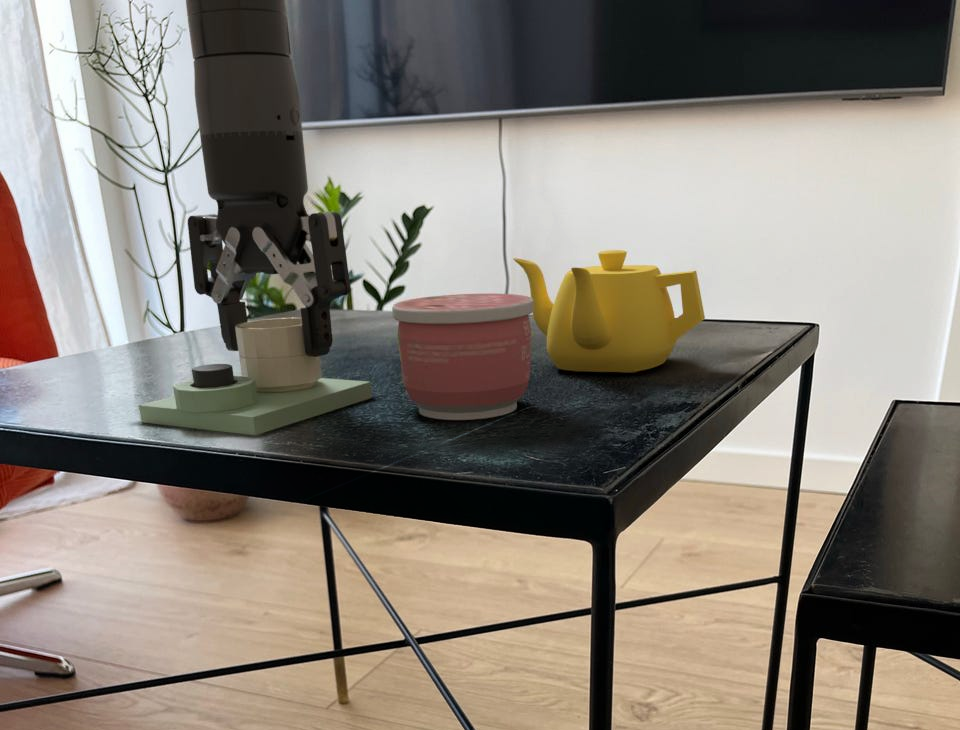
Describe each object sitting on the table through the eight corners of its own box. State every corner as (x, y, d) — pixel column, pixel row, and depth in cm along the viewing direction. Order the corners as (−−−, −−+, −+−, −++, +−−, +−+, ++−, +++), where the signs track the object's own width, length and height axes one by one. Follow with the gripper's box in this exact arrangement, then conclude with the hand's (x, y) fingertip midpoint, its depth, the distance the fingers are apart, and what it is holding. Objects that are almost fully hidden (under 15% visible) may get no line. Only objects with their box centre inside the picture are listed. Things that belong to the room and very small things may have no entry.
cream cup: (286, 396, 79) (278, 330, 77) (227, 390, 82) (217, 327, 80) (338, 381, 84) (332, 318, 82) (280, 376, 87) (272, 316, 85)
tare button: (215, 393, 75) (211, 371, 74) (186, 390, 77) (182, 369, 76) (243, 385, 77) (240, 364, 77) (215, 383, 79) (212, 362, 78)
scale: (251, 437, 73) (245, 395, 72) (137, 424, 79) (129, 385, 78) (372, 398, 84) (369, 361, 83) (264, 389, 90) (259, 354, 89)
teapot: (514, 363, 97) (511, 252, 93) (640, 349, 101) (642, 242, 96) (575, 386, 85) (574, 260, 81) (715, 370, 89) (720, 249, 85)
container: (457, 391, 85) (452, 291, 82) (562, 403, 79) (561, 295, 76) (371, 416, 78) (362, 307, 74) (480, 431, 72) (475, 313, 68)
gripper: (146, 134, 76) (181, 355, 83) (290, 122, 69) (315, 365, 76) (218, 135, 82) (245, 342, 89) (357, 124, 75) (375, 349, 82)
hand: (277, 352), depth 82 cm, fingers open, 8 cm apart
